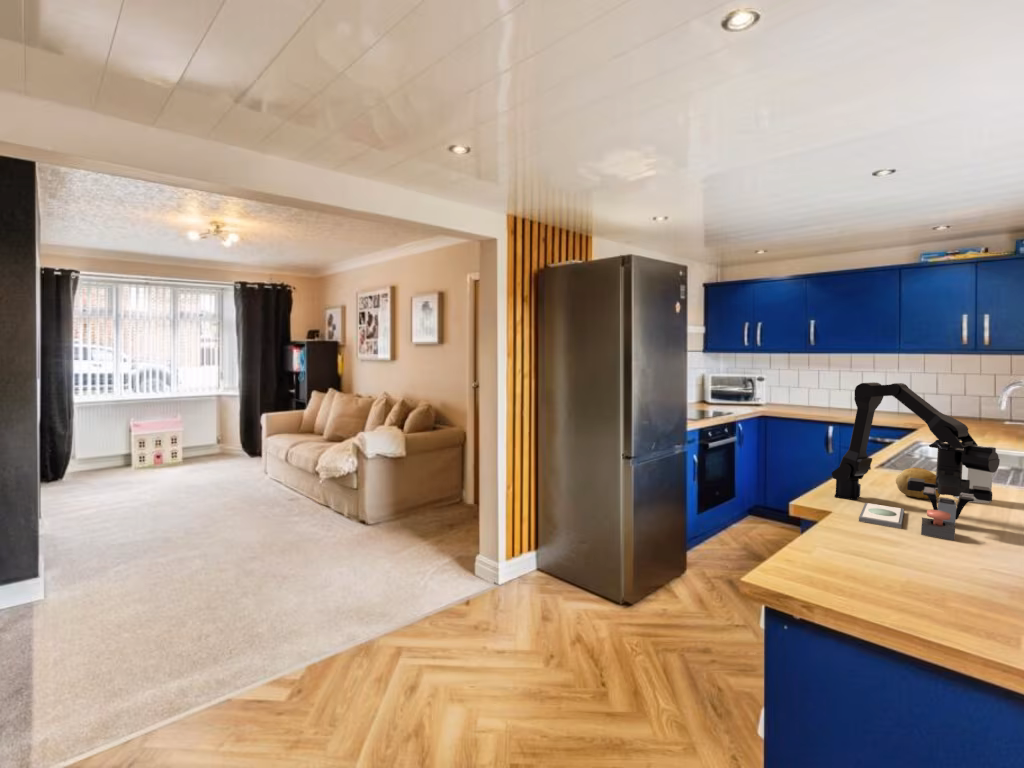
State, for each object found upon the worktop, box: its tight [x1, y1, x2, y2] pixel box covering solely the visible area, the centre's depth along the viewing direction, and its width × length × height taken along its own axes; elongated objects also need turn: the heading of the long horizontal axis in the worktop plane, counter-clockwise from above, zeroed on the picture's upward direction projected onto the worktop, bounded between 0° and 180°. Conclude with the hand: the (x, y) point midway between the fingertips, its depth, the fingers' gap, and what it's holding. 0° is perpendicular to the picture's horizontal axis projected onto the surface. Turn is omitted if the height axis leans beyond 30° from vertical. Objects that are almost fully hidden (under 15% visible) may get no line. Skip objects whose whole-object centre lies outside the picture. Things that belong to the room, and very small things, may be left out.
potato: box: [895, 467, 941, 500], centre depth 178 cm, size 10×12×10 cm
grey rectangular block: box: [937, 497, 957, 525], centre depth 152 cm, size 4×4×7 cm
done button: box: [926, 509, 951, 526], centre depth 143 cm, size 5×5×4 cm
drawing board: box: [858, 502, 905, 529], centre depth 158 cm, size 10×18×2 cm, turn 141°
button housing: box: [920, 517, 956, 541], centre depth 144 cm, size 7×7×3 cm
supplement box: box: [955, 465, 993, 504], centre depth 175 cm, size 7×7×13 cm
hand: (946, 517), depth 152 cm, fingers closed on grey rectangular block, 4 cm apart
